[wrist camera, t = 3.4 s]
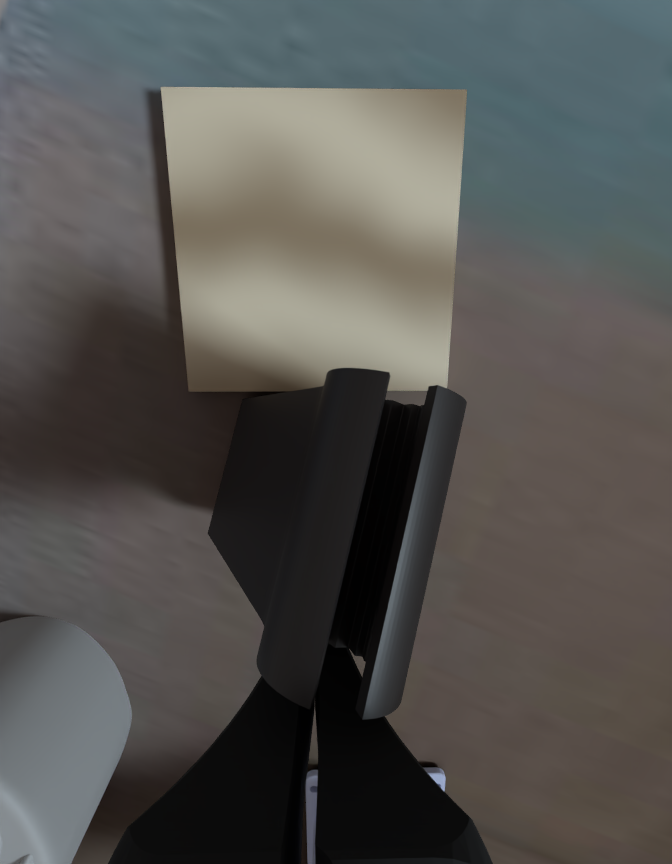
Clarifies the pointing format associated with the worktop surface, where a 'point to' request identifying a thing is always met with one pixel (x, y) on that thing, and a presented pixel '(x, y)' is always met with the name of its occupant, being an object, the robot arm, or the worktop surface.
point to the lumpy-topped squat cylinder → (55, 736)
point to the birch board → (314, 232)
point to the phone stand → (337, 526)
